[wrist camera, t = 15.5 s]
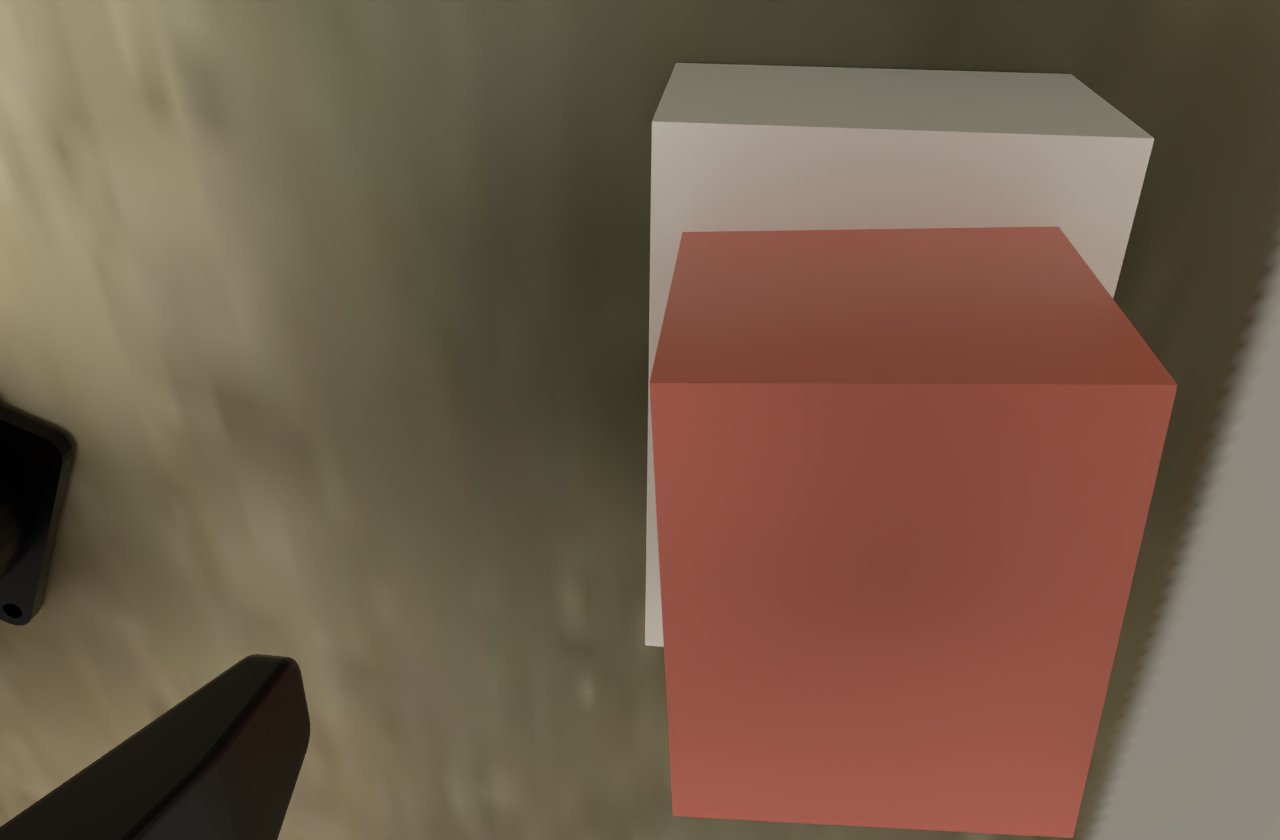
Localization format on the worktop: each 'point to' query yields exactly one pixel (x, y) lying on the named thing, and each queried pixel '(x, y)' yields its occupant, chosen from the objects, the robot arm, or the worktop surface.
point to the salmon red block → (895, 523)
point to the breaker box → (881, 170)
